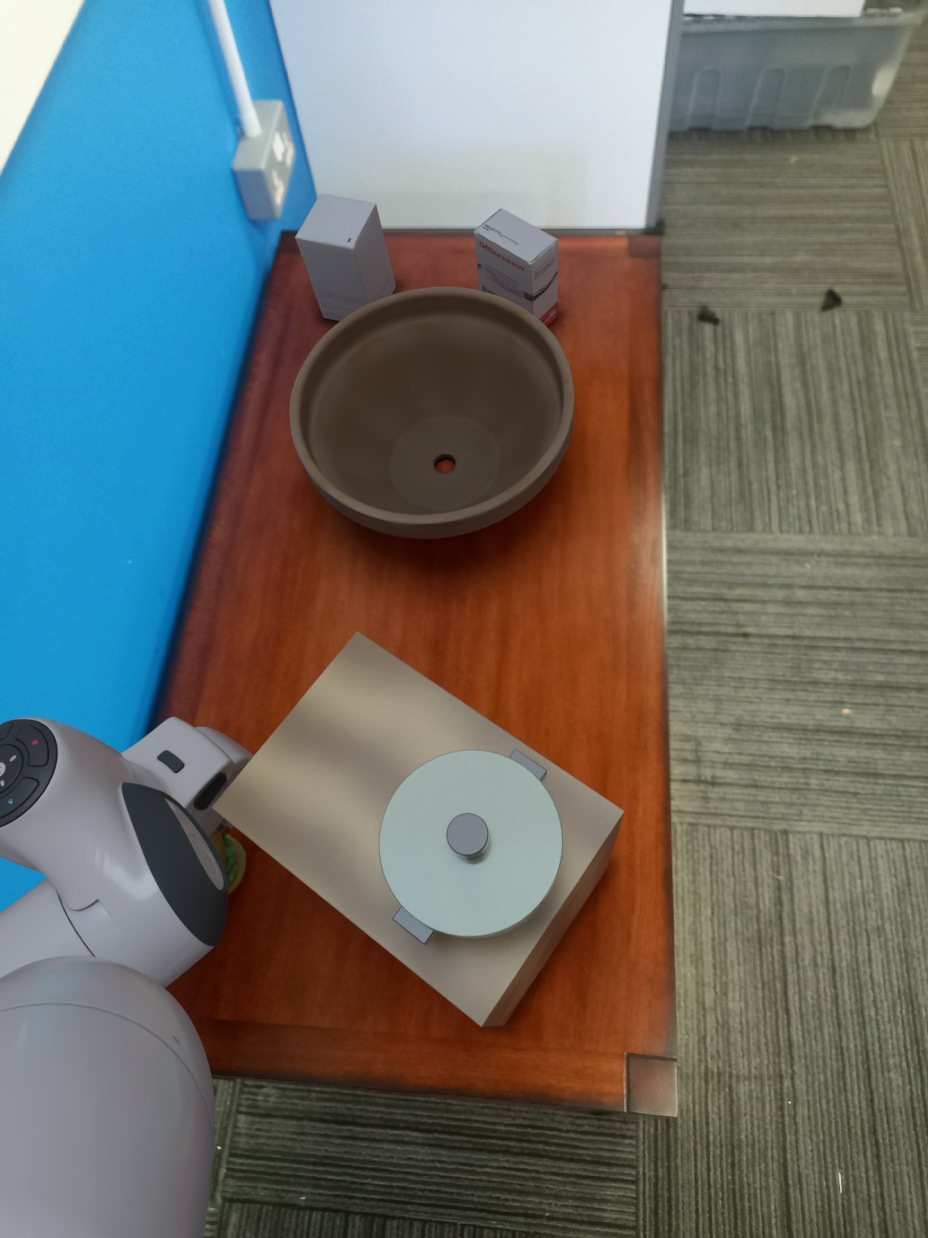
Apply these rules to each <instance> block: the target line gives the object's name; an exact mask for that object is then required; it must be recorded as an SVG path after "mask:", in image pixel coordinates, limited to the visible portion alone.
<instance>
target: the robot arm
mask: <svg viewBox="0 0 928 1238" xmlns="http://www.w3.org/2000/svg"><path fill="white" fill-rule="evenodd" d="M254 755H255V754H253V753H251V751H250V750H248V749H246V748H245V747H244V746H242V745H241V744H240V743H238V742H237V741H236V740H234V739H233V738H231V737H230V736H228V735H227V734H226V733H223V732H221V731H219V730H217V729H214V728H212V727H209V726H196V727H195V726H193V725H192V724H190V723H188V722H186V721H185V720H183V719H181V718H179V717H177V716H171V717H169V718H166V719H165V720H164V721H163V722H162V723H160V724H158V726H157V727H155V728H154V729H153V730H151V731H150V732H149V733H148V734H147V735H145V736H144V737H142V738H141V739H140V740H139V741H138V742H137V741H136V743H135V744H133V745H131V746H130V747H129V748H127V749H125V750H123V752H119V751H118V750H117V749H115V748H114V747H112V746H110V745H109V744H108V743H106V742H104V741H103V740H101V739H99V738H97V737H95V736H93V735H92V734H90V733H88V732H86V731H84V730H81V729H79V728H77V727H75V726H72V725H69V724H68V723H64V722H62V721H58V720H55V719H51V718H46V717H39V716H26V717H18V718H17V717H16V718H14V719H9V720H6V721H4V722H2V723H0V858H2V859H3V860H6V861H8V862H10V863H13V864H15V865H18V866H20V867H23V868H26V869H28V870H30V871H34V872H37V873H39V874H43V876H44V877H45V879H43V880H42V881H41V882H39V883H38V884H36V885H35V886H34V887H33V888H31V889H30V890H29V891H27V892H26V893H24V894H23V895H22V896H21V897H20V898H18V899H16V900H15V901H14V902H12V903H11V904H10V905H9V906H7V907H6V908H5V909H3V910H2V911H0V1238H204V1236H205V1235H204V1234H205V1229H206V1228H205V1227H206V1222H207V1215H208V1213H207V1212H208V1207H209V1202H210V1201H209V1200H210V1199H209V1198H210V1191H211V1181H212V1171H213V1156H214V1155H213V1153H214V1138H215V1125H216V1124H215V1121H216V1120H215V1119H216V1101H215V1100H216V1099H215V1090H214V1082H213V1077H212V1072H211V1068H210V1063H209V1060H208V1056H207V1054H206V1050H205V1048H204V1045H203V1043H202V1039H201V1037H200V1035H199V1033H198V1031H197V1029H196V1027H195V1025H194V1023H193V1021H192V1019H191V1017H190V1016H189V1015H188V1014H187V1012H186V1011H185V1009H184V1008H183V1006H182V1005H181V1004H180V1003H179V1001H177V999H176V998H175V997H174V996H173V995H172V994H171V993H170V992H169V991H168V990H166V988H167V987H168V986H170V985H171V984H173V982H175V981H176V980H178V978H180V977H181V976H182V975H183V974H185V973H186V972H187V971H188V970H189V969H191V967H193V966H195V964H197V963H198V962H199V961H200V960H201V959H202V958H204V957H205V956H206V955H207V954H208V953H210V952H211V950H213V949H214V948H215V947H217V946H219V945H220V942H221V940H222V938H223V935H224V932H225V929H226V925H227V918H228V912H229V911H228V910H229V909H228V908H229V895H228V891H229V883H228V876H227V873H226V870H225V867H224V865H223V863H222V861H221V859H220V857H219V855H218V853H217V851H216V849H215V847H214V846H213V844H212V842H211V841H210V839H209V838H208V837H209V836H210V835H211V834H212V833H213V832H214V831H215V829H216V828H217V830H218V831H219V832H220V834H221V835H222V837H223V838H224V837H225V836H226V835H227V834H229V833H230V832H231V830H233V828H235V827H234V826H233V825H232V824H231V823H229V822H228V821H227V820H226V819H224V818H223V817H222V816H221V815H220V814H218V813H217V812H216V811H215V810H213V809H212V806H213V805H214V804H215V803H216V801H217V800H218V799H219V798H220V797H221V795H222V794H223V793H224V792H225V790H226V789H227V788H228V787H229V786H230V784H231V783H232V782H233V781H234V780H235V778H236V777H237V776H238V775H239V774H240V772H241V771H242V770H243V769H244V767H245V766H246V765H247V764H248V763H249V761H250V760H251V759H252V758H253V757H254Z"/></svg>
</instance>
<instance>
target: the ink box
mask: <svg viewBox="0 0 928 1238" xmlns="http://www.w3.org/2000/svg"><path fill="white" fill-rule="evenodd" d="M473 236H474V237H473V240H474V250H475V259H476V268H477V269H476V270H477V280H478V290H479V291H483V292H487V293H490V294H493V295H496V296H500V297H502V298H505V299H507V300H509V301H511V302H513V303H515V304H517V305H519V306H521V307H522V308H524V309H525V310H527V311H528V312H530V313H531V314H532V315H534V316H535V317H536V318H538V319H539V320H540V321H541V322H542V323H543V324H544V325H545V326H546V327H547V328H548V327H549V326H550V325H552V323H554V321H555V320H556V319H557V318H558V304H559V303H558V301H559V299H558V297H559V296H558V295H559V294H558V293H559V273H558V272H559V239H558V238H556V237H555V236H553V235H551V234H549V233H547V232H546V231H544V230H542V229H540V228H538V227H536V226H535V225H533V224H531V223H529V222H527V220H524V219H522V218H521V217H519V216H517V215H515V214H514V213H511V212H510V211H508V210H506V209H504V208H503V207H502V208H499V209H498V210H497V211H495V212H494V213H493V214H492V215H490V216H489V217H488V218H487V219H486V220H484V221H483V222H482V223H481V224H479V225H478V226H477V227H476V228H475V229H474V230H473Z"/></svg>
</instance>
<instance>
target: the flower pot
mask: <svg viewBox="0 0 928 1238" xmlns="http://www.w3.org/2000/svg"><path fill="white" fill-rule="evenodd" d="M574 387H575V386H574V380H573V374H572V370H571V366H570V363H569V361H568V359H567V356H566V354H565V351H564V349H563V347H562V345H561V343H560V342H559V341H558V339H557V338H556V336H555V335H554V334H553V333H552V331H551V330H550V329H549V328H548V327H546V326H545V325H544V324H543V323H542V322H541V321H540V320H539V319H538V318H536V317H535V316H534V315H532V314H531V313H530V312H528V311H527V310H525V309H524V308H522V307H521V306H519V305H517V304H515V303H513V302H511V301H509V300H507V299H505V298H502V297H500V296H496V295H493V294H490V293H487V292H483V291H479V289H473V288H468V287H461V286H430V287H422V288H421V287H420V288H415V289H409V290H405V291H401V292H397V293H393V294H392V295H390V296H387V297H384V298H381V299H379V300H376V301H374V302H372V303H370V304H367V305H365V306H364V307H362V308H360V309H358V310H356V311H355V312H353V313H351V314H350V315H348V316H347V317H345V318H344V319H343V320H341V321H338V322H337V323H336V324H335V325H333V327H331V328H330V329H329V330H328V331H327V332H326V333H325V334H324V335H323V336H322V337H321V338H320V339H319V341H318V342H316V344H315V345H314V346H313V348H312V349H311V350H310V352H309V353H308V355H307V357H306V359H305V360H304V362H303V363H302V365H301V367H300V369H299V371H298V373H297V376H296V378H295V381H294V383H293V387H292V389H291V393H290V397H289V404H288V405H289V407H288V408H289V409H288V411H289V416H288V417H289V427H290V435H291V438H292V442H293V446H294V449H295V452H296V454H297V456H298V457H297V458H298V459H299V462H300V464H301V466H302V468H303V470H304V471H305V473H306V475H307V476H308V478H309V480H310V481H311V483H312V485H313V486H314V488H315V489H316V490H317V492H318V493H319V494H320V496H321V497H322V498H323V499H324V500H325V501H326V502H327V503H328V504H330V506H331V507H333V509H335V510H336V511H338V512H339V513H340V514H342V515H343V516H345V518H348V519H349V520H351V521H353V522H354V523H356V524H359V525H360V526H362V527H365V528H368V529H369V530H372V531H375V532H378V533H381V534H384V535H389V536H394V537H398V538H406V539H417V540H433V539H434V540H435V539H445V538H453V537H458V536H462V535H466V534H470V533H473V532H476V531H479V530H482V529H484V528H487V527H489V526H493V525H494V524H496V523H499V522H501V521H503V520H504V519H506V518H508V517H511V515H512V514H514V513H516V512H518V511H519V510H520V509H521V508H523V507H524V506H525V505H526V504H528V503H529V502H530V501H531V500H533V499H534V498H535V497H536V496H537V495H538V494H539V493H540V492H541V491H542V489H544V488H545V486H546V485H547V484H548V483H549V482H550V480H551V479H552V478H553V476H554V475H555V474H556V472H557V470H558V468H559V467H560V465H561V463H562V461H563V459H564V457H565V455H566V452H567V450H568V448H569V444H570V440H571V438H572V437H571V436H572V433H573V424H574V415H575V389H574ZM445 458H447V459H451V460H452V461H453V462H454V463H455V465H454V466H453V469H451V470H450V471H447V472H440V471H438V470H437V469H436V464H437V463H438V461H440V460H442V459H445Z"/></svg>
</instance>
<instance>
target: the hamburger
mask: <svg viewBox="0 0 928 1238" xmlns="http://www.w3.org/2000/svg"><path fill="white" fill-rule="evenodd" d="M208 838H209V839H210V841H211V842H212V844H213V846H214V847H215V849H216V851H217V853H218V855H219V857H220V859H221V861H222V863H223V865H224V867H225V870H226V873H227V876H228V883H229V891H228V896H229V895H230V894H231V893H233V892H234V891H235V890H236V889H237V887H238V886H240V884H241V882H242V880H243V878H244V877H245V874H246V870H247V853H246V850H245V849H244V846H243V844H241V843H240V842H239V841H238V840H237V839H236V838H234V836H232V835H230V834H229V833H228V834H227V835H226V836H225V837H224V838H223V837H222V835H221V834H220V832H219V831H218V830H217V828H216V829H215V831H214V832H213V833H212V834H211V835H210V836H209V837H208Z"/></svg>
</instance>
